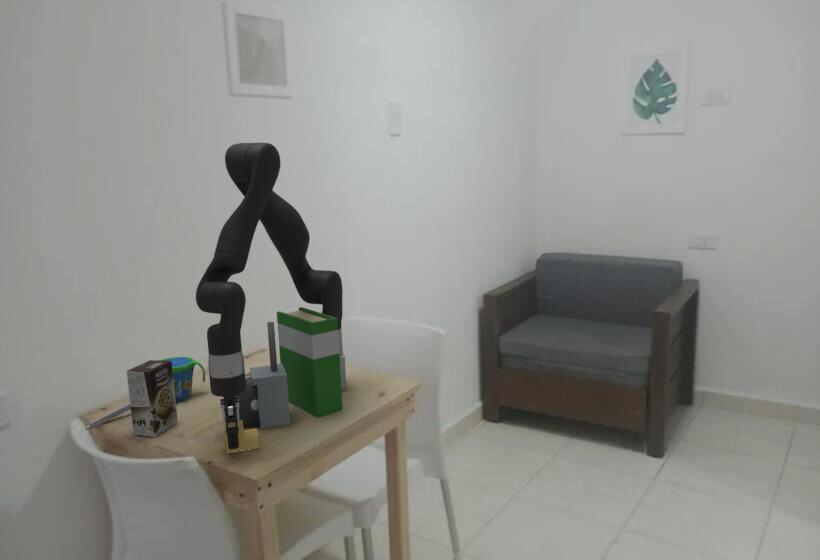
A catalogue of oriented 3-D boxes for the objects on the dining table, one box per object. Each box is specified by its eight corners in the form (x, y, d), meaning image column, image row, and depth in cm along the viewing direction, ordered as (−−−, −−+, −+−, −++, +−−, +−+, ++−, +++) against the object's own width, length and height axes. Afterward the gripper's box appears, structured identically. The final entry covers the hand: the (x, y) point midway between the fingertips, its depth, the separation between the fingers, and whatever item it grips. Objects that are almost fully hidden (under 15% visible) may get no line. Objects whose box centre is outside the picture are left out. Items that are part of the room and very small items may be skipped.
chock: (257, 440, 152) (255, 417, 151) (259, 449, 148) (257, 426, 147) (226, 445, 150) (224, 422, 149) (226, 454, 146) (224, 430, 145)
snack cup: (207, 387, 189) (204, 353, 187) (206, 400, 179) (203, 364, 177) (149, 395, 184) (145, 359, 183) (145, 408, 174) (140, 371, 173)
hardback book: (283, 399, 178) (276, 311, 173) (307, 392, 182) (301, 307, 178) (317, 417, 164) (311, 323, 160) (342, 410, 169) (337, 318, 164)
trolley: (286, 411, 169) (279, 317, 164) (290, 424, 160) (283, 325, 156) (233, 418, 165) (224, 322, 161) (234, 432, 157) (225, 331, 152)
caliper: (162, 404, 177) (160, 382, 176) (164, 405, 177) (162, 383, 176) (84, 429, 163) (81, 405, 161) (86, 430, 162) (83, 406, 161)
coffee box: (156, 438, 155) (148, 372, 152) (132, 435, 157) (124, 370, 154) (179, 422, 164) (172, 360, 161) (156, 420, 166) (149, 358, 163)
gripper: (246, 378, 139) (252, 451, 142) (242, 359, 153) (248, 426, 156) (209, 383, 137) (216, 456, 140) (209, 363, 151) (215, 431, 154)
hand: (233, 440), depth 148 cm, fingers open, 8 cm apart
